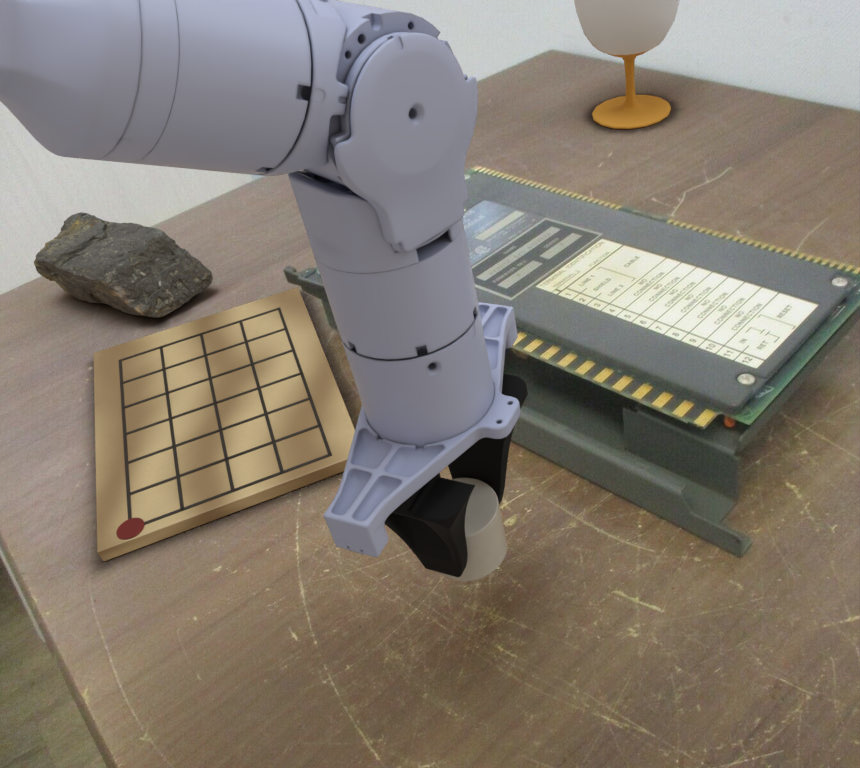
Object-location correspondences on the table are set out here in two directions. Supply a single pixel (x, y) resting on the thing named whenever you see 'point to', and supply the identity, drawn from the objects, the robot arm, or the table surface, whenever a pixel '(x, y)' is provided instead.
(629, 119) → the cup
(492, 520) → the grey short cylinder
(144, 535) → the board
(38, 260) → the rock
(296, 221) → the table surface
